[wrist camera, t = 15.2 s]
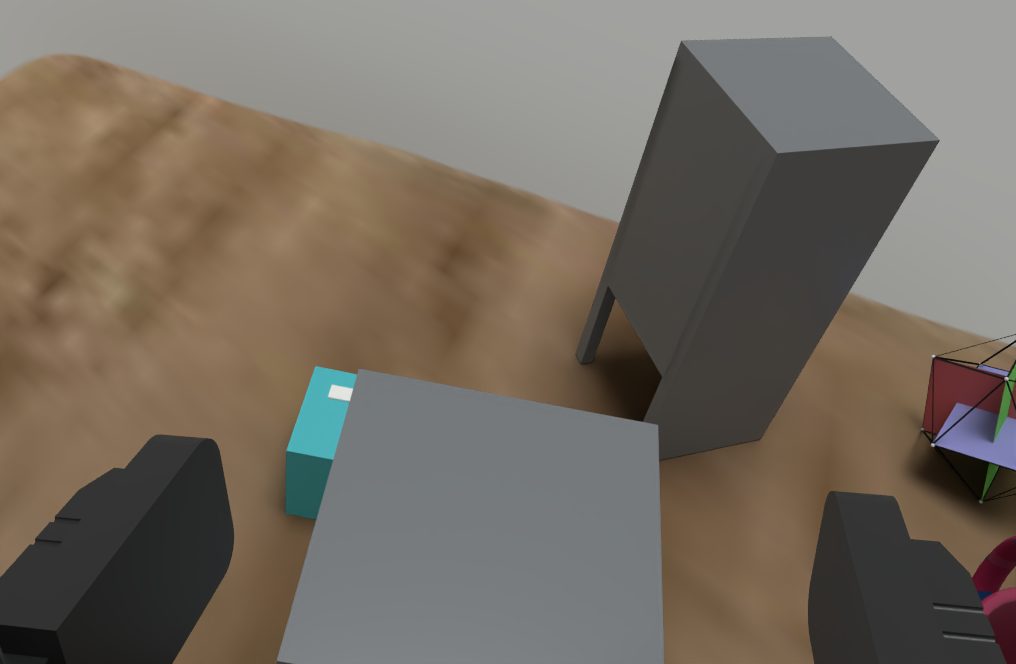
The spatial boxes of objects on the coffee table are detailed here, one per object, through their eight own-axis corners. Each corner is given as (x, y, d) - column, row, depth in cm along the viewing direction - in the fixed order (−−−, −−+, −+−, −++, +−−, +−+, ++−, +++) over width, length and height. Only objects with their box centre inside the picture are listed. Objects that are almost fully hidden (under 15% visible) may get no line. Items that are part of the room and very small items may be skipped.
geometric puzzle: (857, 404, 41) (1047, 370, 35) (912, 329, 46) (1089, 286, 40) (930, 537, 43) (1125, 526, 36) (976, 451, 47) (1158, 428, 41)
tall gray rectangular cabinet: (694, 335, 46) (831, 36, 34) (760, 439, 42) (939, 140, 31) (575, 354, 44) (681, 40, 32) (634, 465, 40) (777, 152, 28)
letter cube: (410, 450, 38) (421, 385, 35) (390, 534, 35) (401, 471, 33) (312, 431, 38) (315, 364, 35) (285, 514, 35) (286, 448, 32)
